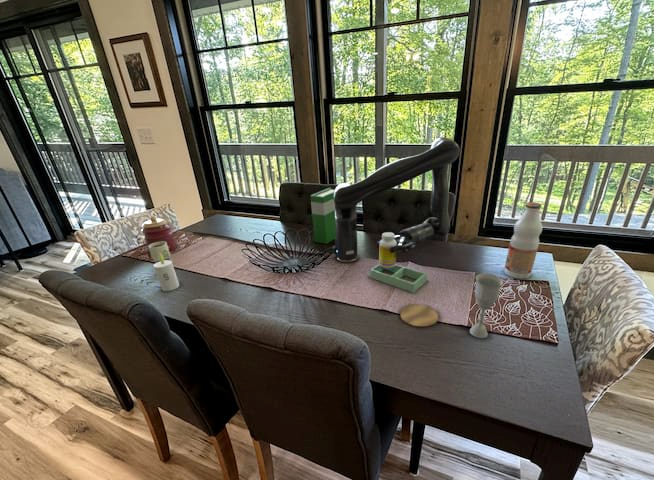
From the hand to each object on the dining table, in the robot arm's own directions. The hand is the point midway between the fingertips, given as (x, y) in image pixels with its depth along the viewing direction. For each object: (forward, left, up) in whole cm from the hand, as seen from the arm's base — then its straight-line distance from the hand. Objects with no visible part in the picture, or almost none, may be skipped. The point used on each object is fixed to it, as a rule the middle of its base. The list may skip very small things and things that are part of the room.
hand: (383, 247), depth 118 cm
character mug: (-80, -51, -13) cm, 96 cm away
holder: (+5, +2, -13) cm, 14 cm away
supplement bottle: (0, +2, -8) cm, 9 cm away
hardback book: (-48, +21, -13) cm, 54 cm away
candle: (-64, -56, -13) cm, 87 cm away
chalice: (+42, -11, -13) cm, 45 cm away
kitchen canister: (-108, -41, -13) cm, 117 cm away
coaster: (+24, -14, -13) cm, 30 cm away
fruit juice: (+41, +34, -13) cm, 54 cm away
